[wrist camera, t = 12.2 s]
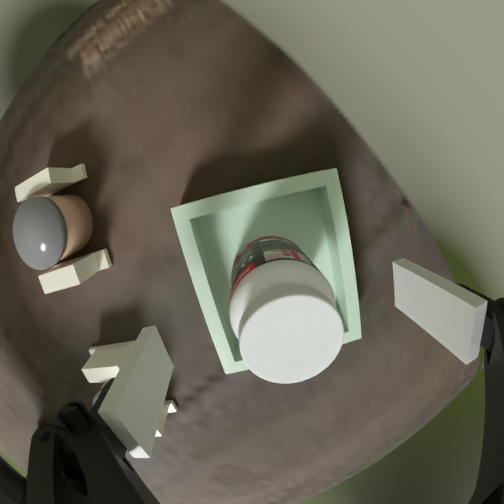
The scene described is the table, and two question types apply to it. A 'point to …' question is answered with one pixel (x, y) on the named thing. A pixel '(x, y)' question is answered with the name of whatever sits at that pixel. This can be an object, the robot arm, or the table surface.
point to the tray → (259, 225)
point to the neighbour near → (51, 229)
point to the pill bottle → (283, 311)
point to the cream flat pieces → (81, 278)
